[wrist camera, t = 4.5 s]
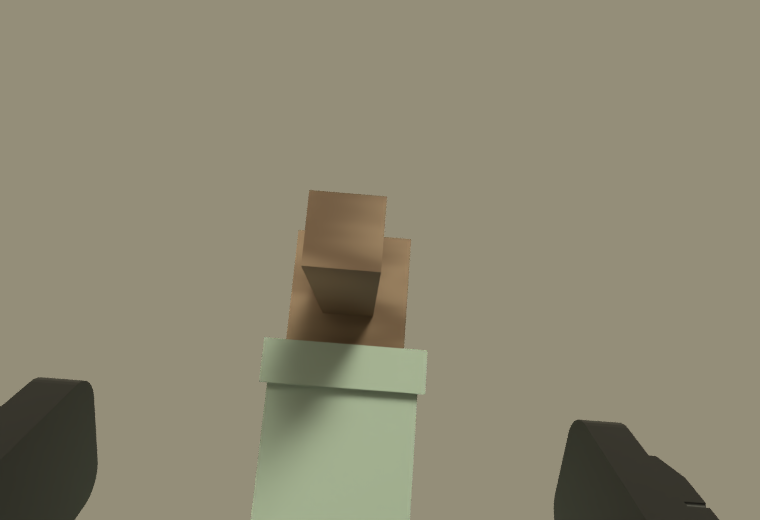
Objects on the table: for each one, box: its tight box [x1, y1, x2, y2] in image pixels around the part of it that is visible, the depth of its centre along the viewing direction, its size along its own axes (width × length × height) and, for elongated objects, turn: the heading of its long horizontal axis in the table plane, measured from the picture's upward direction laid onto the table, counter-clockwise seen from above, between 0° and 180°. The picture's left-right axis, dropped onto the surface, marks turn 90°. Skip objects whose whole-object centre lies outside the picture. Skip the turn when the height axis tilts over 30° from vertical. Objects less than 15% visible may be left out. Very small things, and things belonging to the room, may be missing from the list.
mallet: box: [286, 190, 411, 349], centre depth 27 cm, size 6×17×6 cm, turn 2°
